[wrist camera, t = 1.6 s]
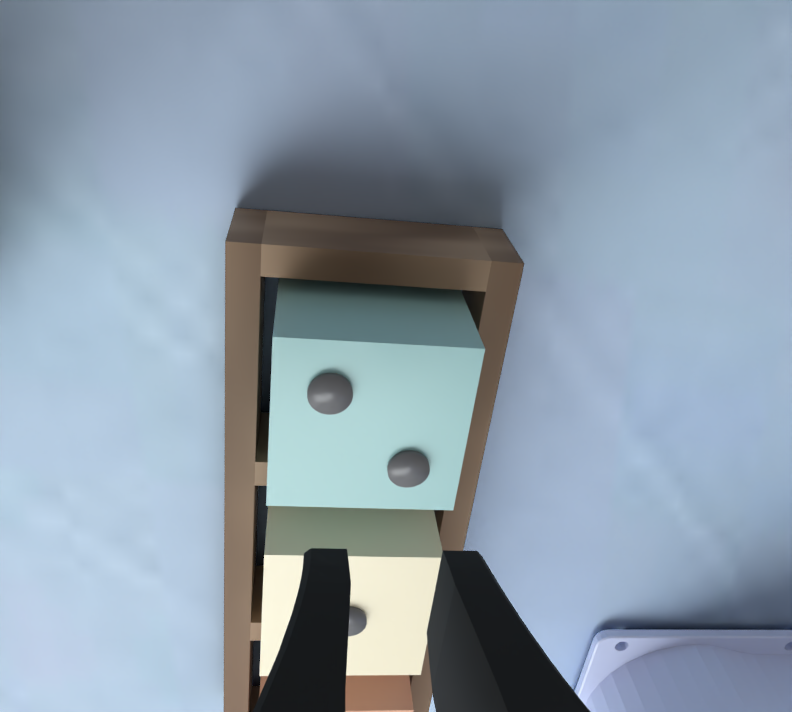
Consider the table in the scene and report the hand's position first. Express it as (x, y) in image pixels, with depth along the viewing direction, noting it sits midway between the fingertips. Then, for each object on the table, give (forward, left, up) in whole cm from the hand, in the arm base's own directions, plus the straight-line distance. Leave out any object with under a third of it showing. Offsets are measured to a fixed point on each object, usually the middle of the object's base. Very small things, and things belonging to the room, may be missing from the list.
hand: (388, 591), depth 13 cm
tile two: (0, 0, -8) cm, 8 cm away
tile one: (0, +6, -8) cm, 10 cm away
